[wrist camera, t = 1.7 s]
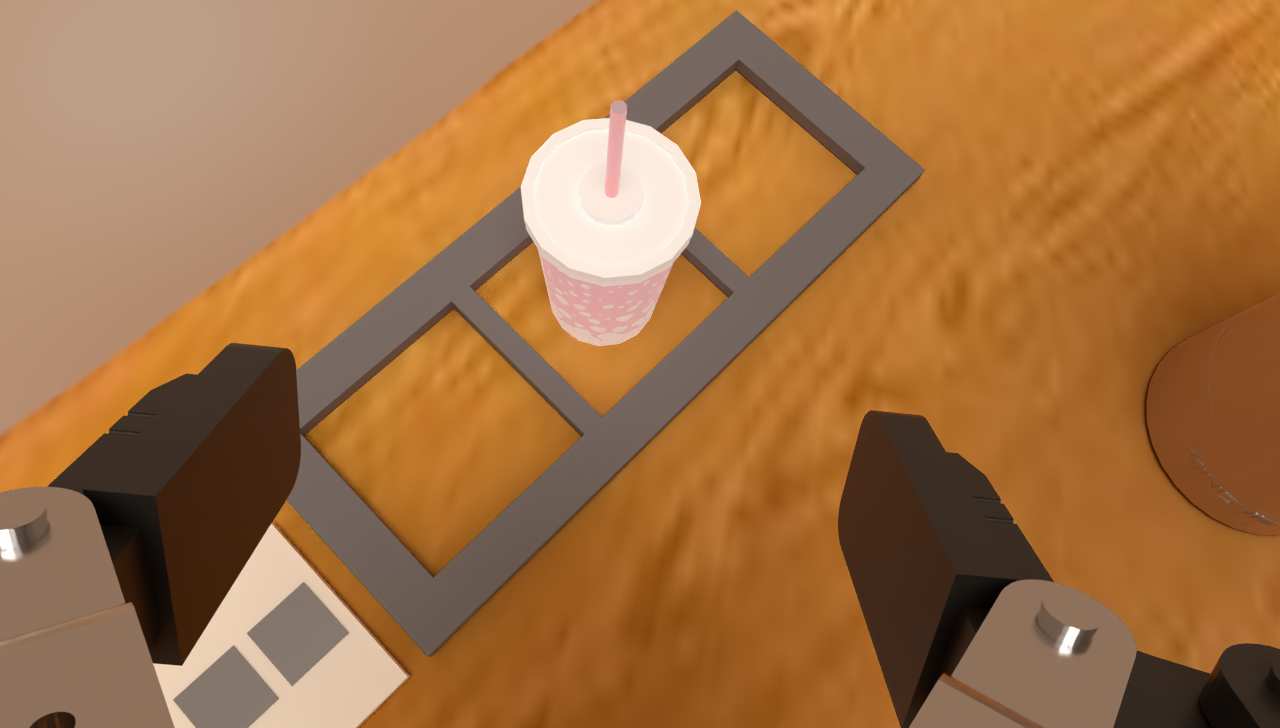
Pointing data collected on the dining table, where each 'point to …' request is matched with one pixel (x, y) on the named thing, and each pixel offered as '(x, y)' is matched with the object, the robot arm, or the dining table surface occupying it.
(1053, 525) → the dining table surface
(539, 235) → the beverage cup
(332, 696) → the card
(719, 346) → the grey flat frame
